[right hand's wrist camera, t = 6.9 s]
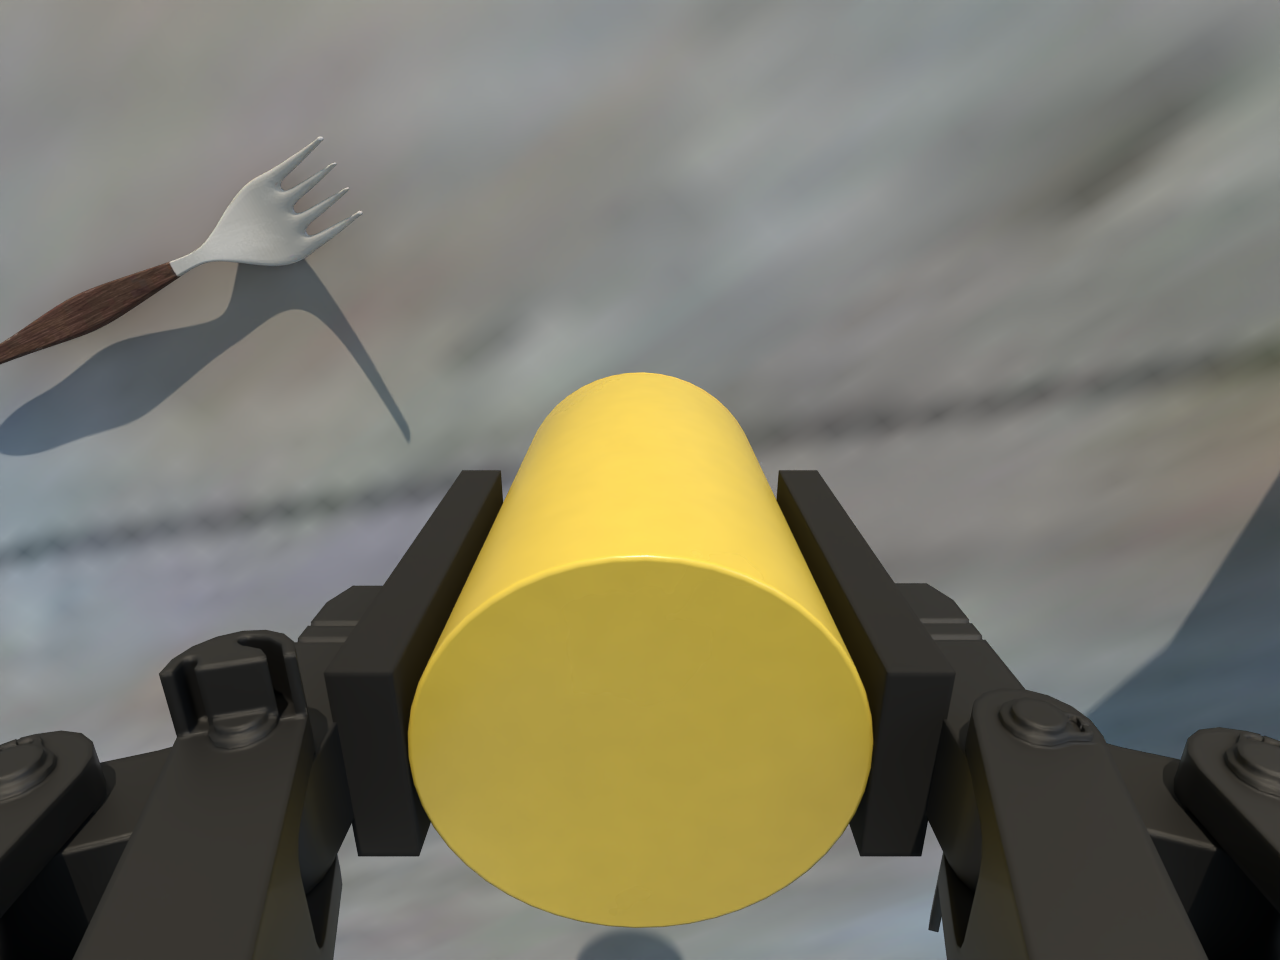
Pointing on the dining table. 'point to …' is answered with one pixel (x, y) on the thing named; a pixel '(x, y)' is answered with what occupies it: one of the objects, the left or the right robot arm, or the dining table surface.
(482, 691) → the canister
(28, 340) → the fork
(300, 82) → the dining table surface
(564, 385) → the dining table surface
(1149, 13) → the dining table surface
